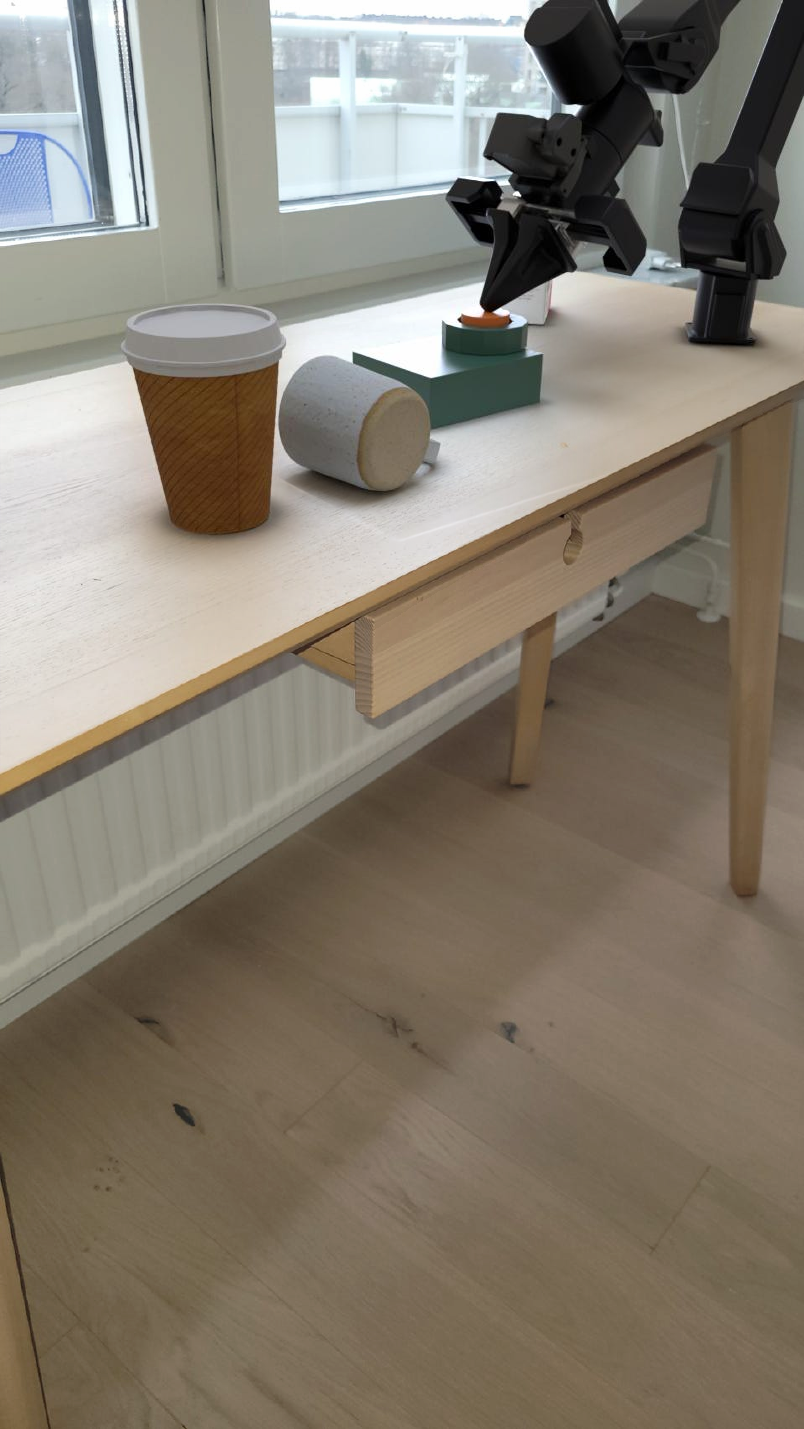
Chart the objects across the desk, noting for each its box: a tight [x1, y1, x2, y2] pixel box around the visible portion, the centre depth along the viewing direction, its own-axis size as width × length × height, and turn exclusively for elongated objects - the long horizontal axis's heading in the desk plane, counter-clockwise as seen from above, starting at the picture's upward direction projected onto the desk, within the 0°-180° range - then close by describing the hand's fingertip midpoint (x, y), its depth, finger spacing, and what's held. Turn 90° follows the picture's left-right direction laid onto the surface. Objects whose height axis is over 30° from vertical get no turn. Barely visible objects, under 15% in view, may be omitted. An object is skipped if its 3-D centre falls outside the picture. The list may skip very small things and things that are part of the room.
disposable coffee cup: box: [120, 303, 287, 535], centre depth 65 cm, size 10×10×12 cm
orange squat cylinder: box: [461, 306, 510, 327], centre depth 88 cm, size 4×4×3 cm
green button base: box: [351, 311, 544, 430], centre depth 88 cm, size 14×10×6 cm
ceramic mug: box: [277, 354, 441, 492], centre depth 72 cm, size 11×8×8 cm
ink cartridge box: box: [500, 191, 554, 325], centre depth 112 cm, size 9×5×15 cm, turn 168°
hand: (484, 308), depth 87 cm, fingers closed, pressing on orange squat cylinder
